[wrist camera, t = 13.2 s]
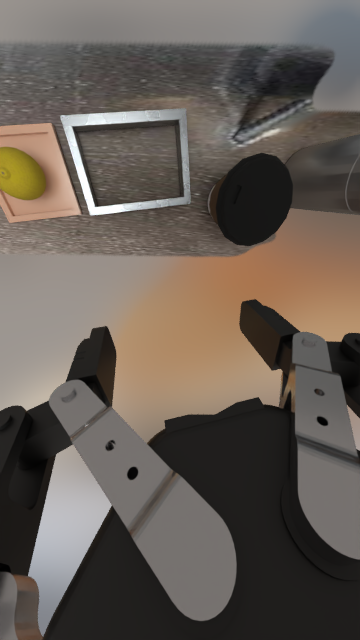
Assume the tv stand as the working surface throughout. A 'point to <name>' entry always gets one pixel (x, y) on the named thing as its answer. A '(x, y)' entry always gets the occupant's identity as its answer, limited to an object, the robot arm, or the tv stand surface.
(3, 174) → the lemon
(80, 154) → the grey open box
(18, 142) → the tray
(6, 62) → the tv stand surface
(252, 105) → the tv stand surface
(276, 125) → the tv stand surface
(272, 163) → the coffee cup
